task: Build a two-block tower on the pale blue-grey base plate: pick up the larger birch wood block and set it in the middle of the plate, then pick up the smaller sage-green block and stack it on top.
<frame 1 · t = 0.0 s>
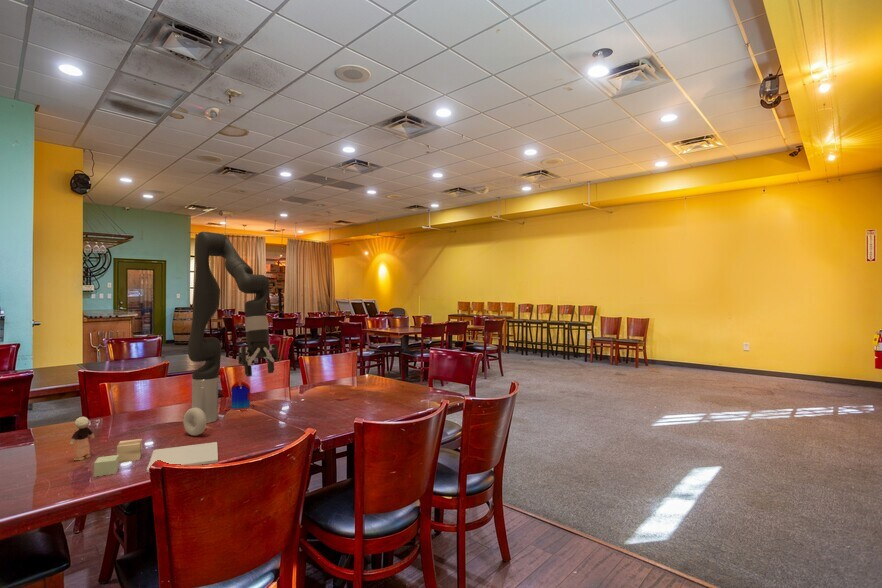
hand: (260, 374, 156), 22 cm above the table, tool pointing down, fingers open, 8 cm apart
grandmother figurine: (80, 459, 134), on the table
base plate: (184, 457, 136), on the table
sage block: (106, 473, 124), on the table
donut: (194, 435, 158), on the table
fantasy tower: (240, 408, 197), on the table
birch block: (129, 458, 135), on the table
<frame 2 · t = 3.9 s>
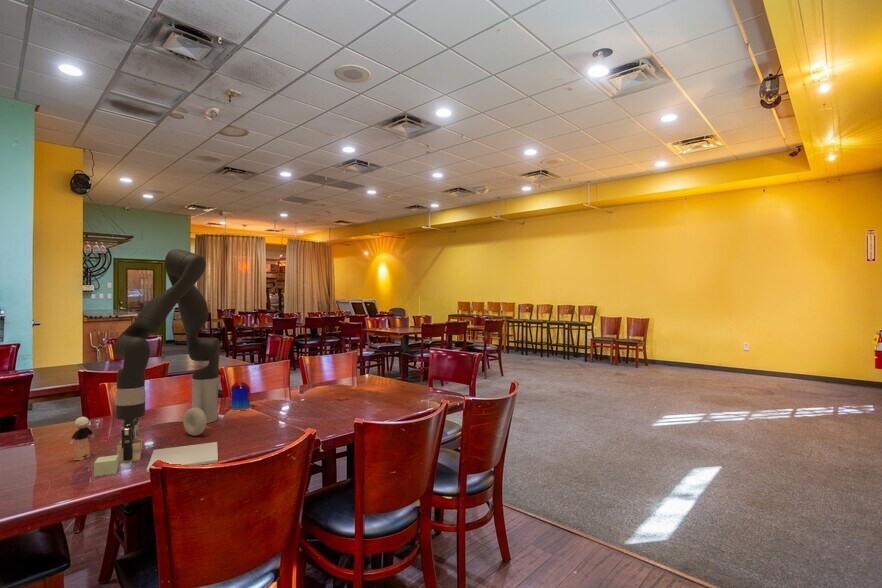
hand: (129, 456, 135), 1 cm above the table, tool pointing down, fingers closed on birch block, 5 cm apart
birch block: (129, 458, 135), on the table, touching gripper
everything else where it was.
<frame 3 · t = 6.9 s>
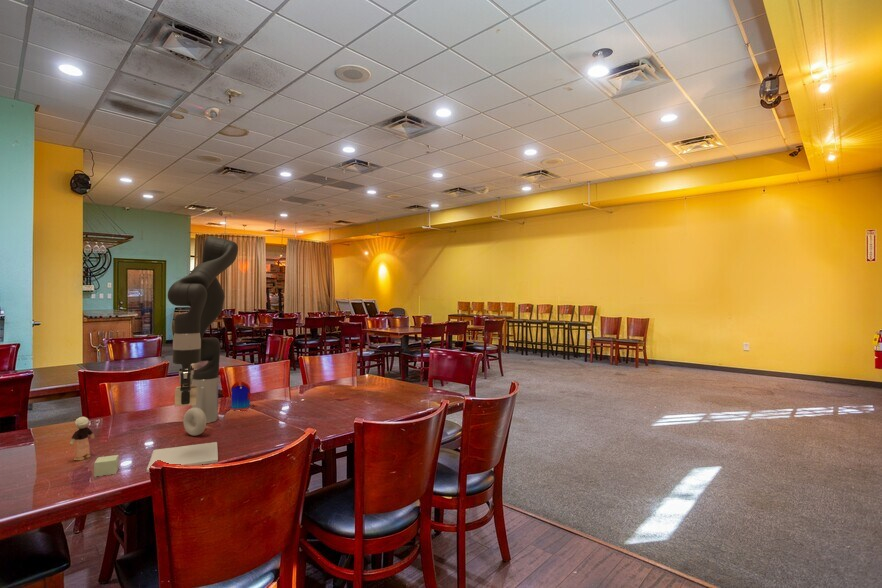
hand: (185, 401, 137), 17 cm above the table, tool pointing down, fingers closed on birch block, 5 cm apart
birch block: (185, 403, 137), point 17 cm above the table, touching gripper
everything else where it was.
when the fingers open (3 cm above the table, at t = 10.0 s): birch block drops 2 cm, resting on base plate.
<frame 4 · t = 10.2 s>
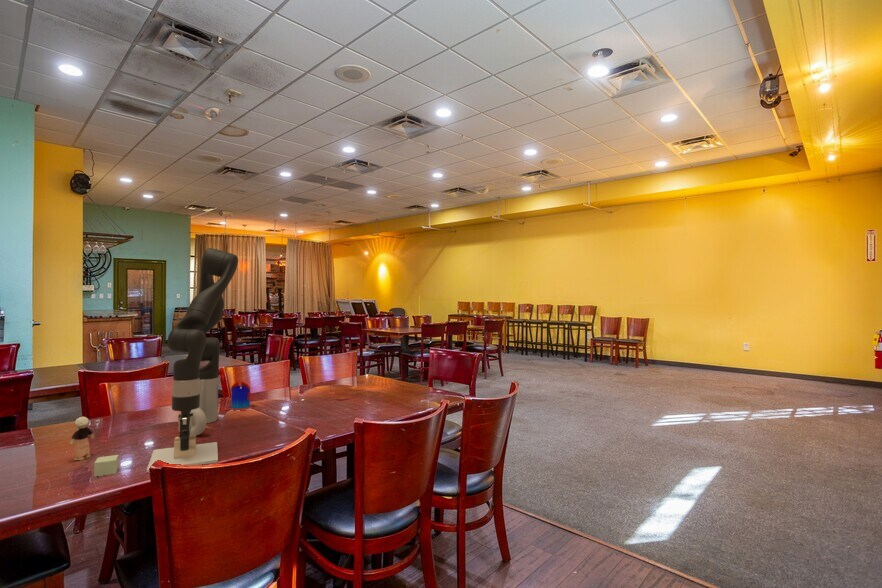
hand: (185, 446, 136), 3 cm above the table, tool pointing down, fingers open, 7 cm apart
birch block: (184, 454, 136), point 1 cm above the table, touching base plate
everything else where it was.
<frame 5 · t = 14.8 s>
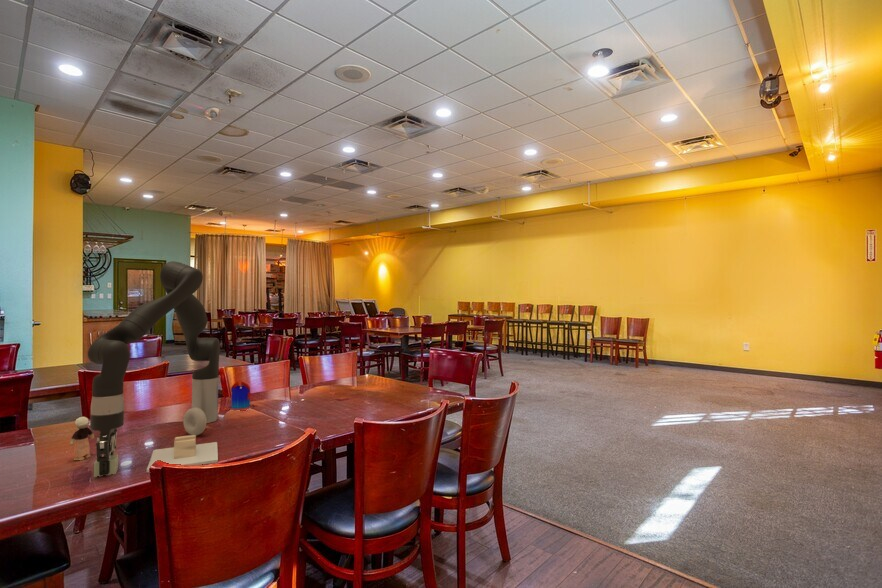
hand: (106, 470, 124), 0 cm above the table, tool pointing down, fingers closed on sage block, 4 cm apart
sage block: (106, 472, 124), on the table, touching gripper
everything else where it was.
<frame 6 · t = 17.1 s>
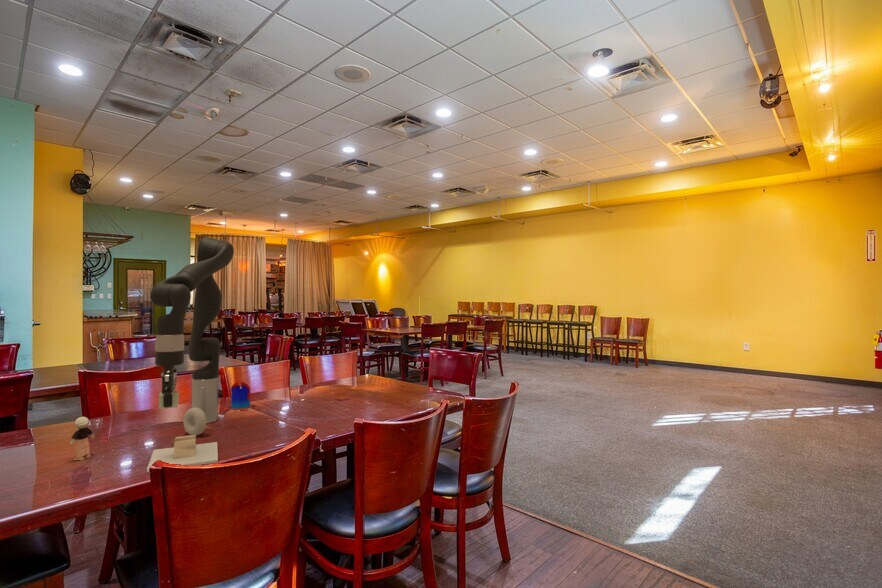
hand: (168, 404, 134), 17 cm above the table, tool pointing down, fingers closed on sage block, 4 cm apart
sage block: (168, 406, 134), point 16 cm above the table, touching gripper
everything else where it was.
when the fingers open (7 cm above the table, at t = 19.8 s): sage block drops 1 cm, resting on birch block.
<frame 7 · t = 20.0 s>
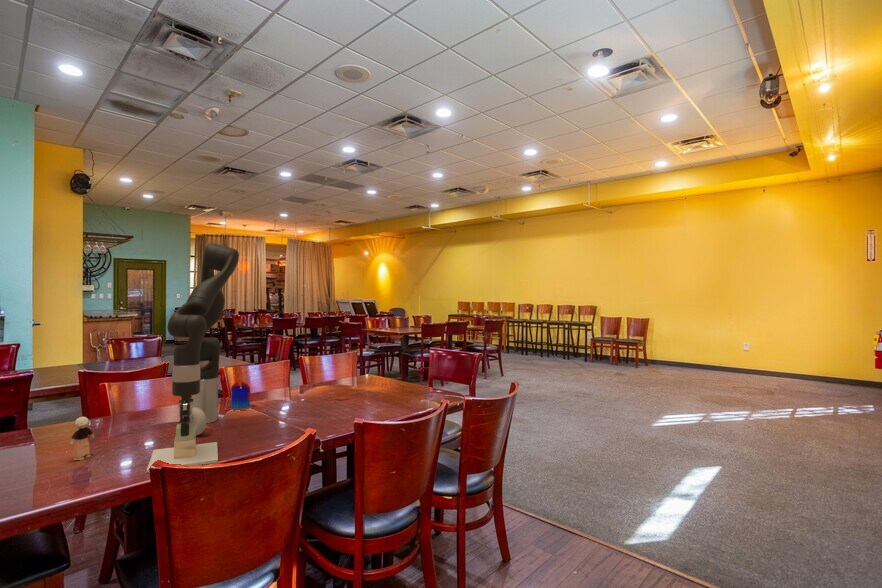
hand: (185, 432, 136), 8 cm above the table, tool pointing down, fingers open, 6 cm apart
sage block: (185, 438, 137), point 6 cm above the table, touching birch block
birch block: (184, 454, 136), point 1 cm above the table, touching base plate, sage block
everything else where it was.
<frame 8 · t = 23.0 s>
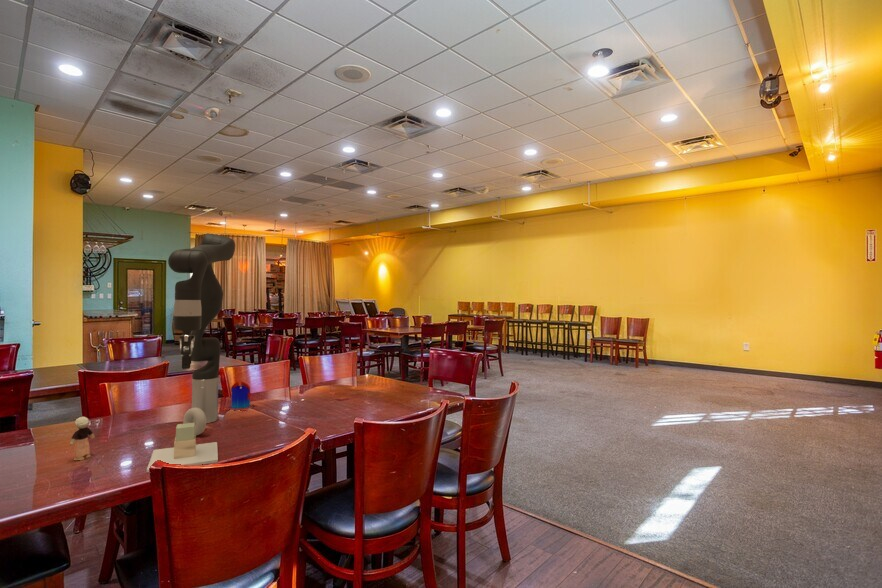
hand: (186, 366, 137), 28 cm above the table, tool pointing down, fingers open, 8 cm apart
nothing on the table moved.
at the end: birch block 0.0 cm off-centre on the base plate, point 0.8 cm above the base plate's base; sage block 0.1 cm off-centre on the birch block, point 5.0 cm above the birch block's base; sage block tilted 0° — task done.
